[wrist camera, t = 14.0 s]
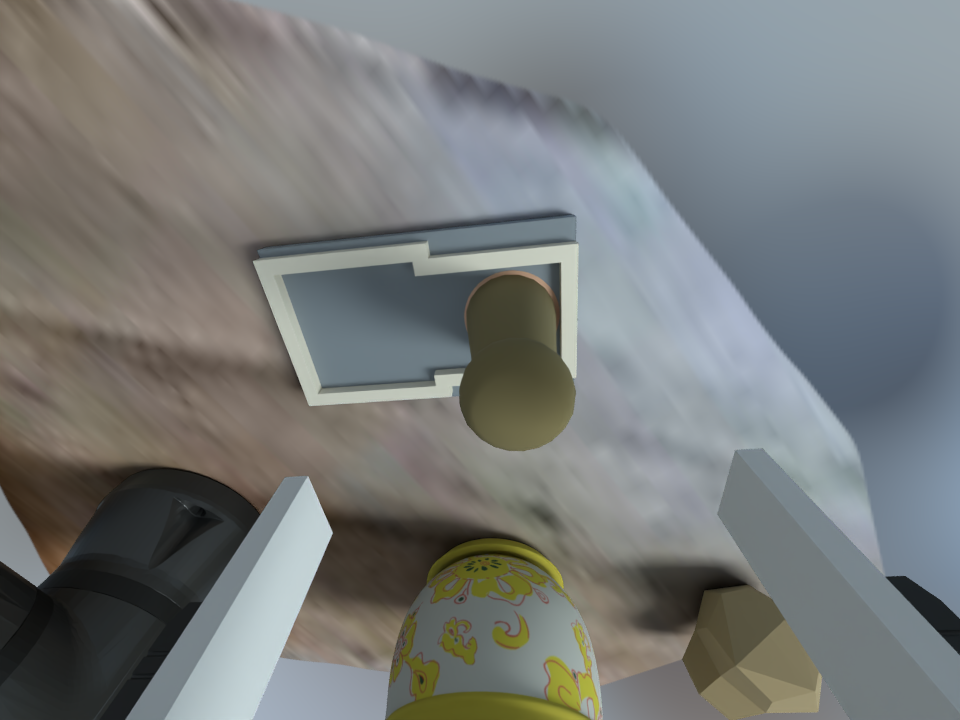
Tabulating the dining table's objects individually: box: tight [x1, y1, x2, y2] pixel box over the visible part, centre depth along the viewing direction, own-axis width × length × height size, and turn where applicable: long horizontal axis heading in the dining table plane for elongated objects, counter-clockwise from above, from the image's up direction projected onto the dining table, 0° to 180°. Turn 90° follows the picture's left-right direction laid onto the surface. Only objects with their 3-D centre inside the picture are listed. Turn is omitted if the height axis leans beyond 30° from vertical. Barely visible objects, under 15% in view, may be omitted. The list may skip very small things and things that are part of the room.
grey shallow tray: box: [253, 215, 579, 406], centre depth 26 cm, size 20×12×2 cm, turn 96°
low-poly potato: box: [682, 585, 822, 720], centre depth 36 cm, size 15×11×12 cm
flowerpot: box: [385, 538, 603, 720], centre depth 33 cm, size 18×18×16 cm
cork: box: [459, 275, 576, 451], centre depth 20 cm, size 6×6×11 cm
